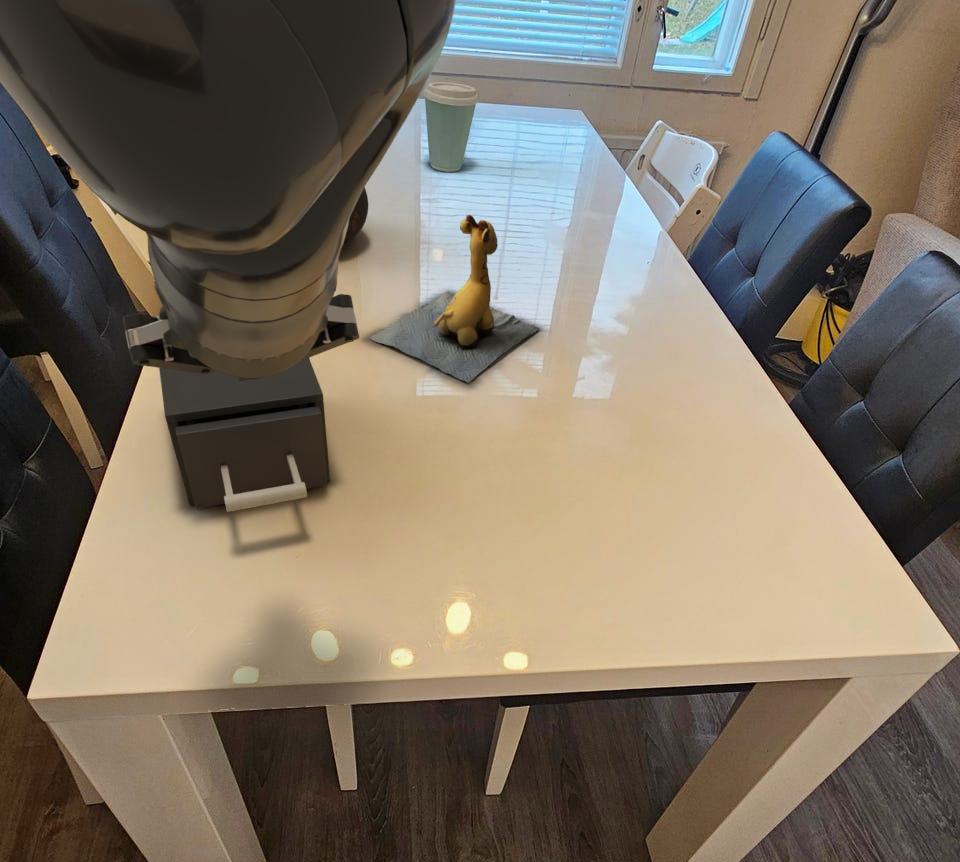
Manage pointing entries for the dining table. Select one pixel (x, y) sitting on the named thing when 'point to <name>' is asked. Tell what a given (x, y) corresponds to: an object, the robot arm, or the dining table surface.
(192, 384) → the dark gray cabinet
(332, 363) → the dining table surface
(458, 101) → the disposable coffee cup
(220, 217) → the robot arm
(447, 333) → the stuffed giraffe
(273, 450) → the drawer
